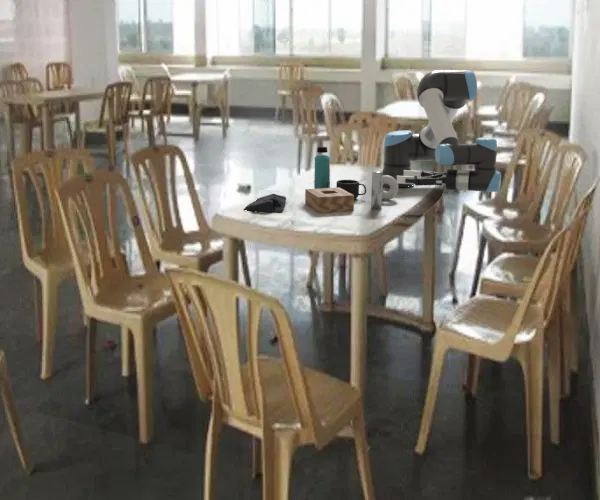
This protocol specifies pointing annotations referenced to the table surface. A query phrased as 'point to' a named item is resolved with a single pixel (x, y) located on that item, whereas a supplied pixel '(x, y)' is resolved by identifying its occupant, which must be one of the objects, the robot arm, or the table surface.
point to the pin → (376, 190)
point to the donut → (393, 187)
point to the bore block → (329, 200)
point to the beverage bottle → (322, 169)
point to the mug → (350, 187)
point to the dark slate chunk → (268, 204)
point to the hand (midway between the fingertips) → (400, 176)
